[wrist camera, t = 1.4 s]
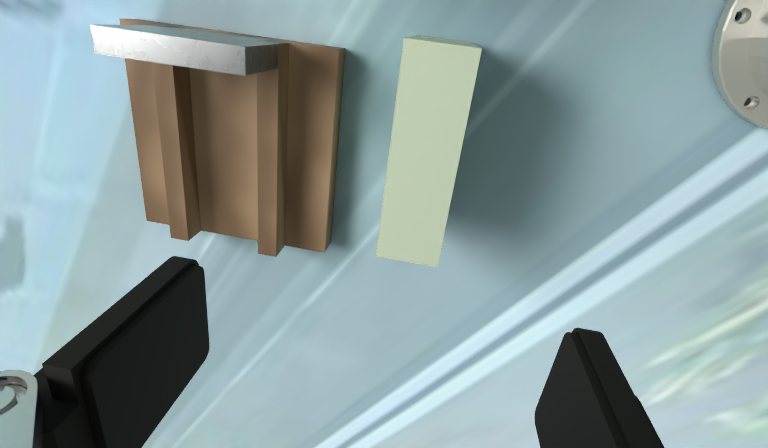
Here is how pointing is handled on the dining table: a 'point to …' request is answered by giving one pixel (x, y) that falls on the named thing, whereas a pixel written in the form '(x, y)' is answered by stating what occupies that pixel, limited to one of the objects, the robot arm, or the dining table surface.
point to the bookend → (187, 48)
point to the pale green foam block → (425, 146)
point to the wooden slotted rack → (241, 145)
